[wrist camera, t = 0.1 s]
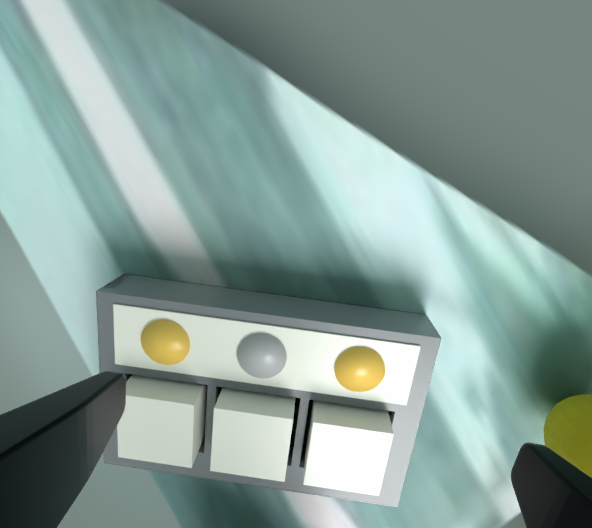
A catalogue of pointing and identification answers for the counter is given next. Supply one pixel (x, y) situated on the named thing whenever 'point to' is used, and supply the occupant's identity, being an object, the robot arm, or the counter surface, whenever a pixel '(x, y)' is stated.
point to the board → (270, 362)
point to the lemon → (571, 431)
